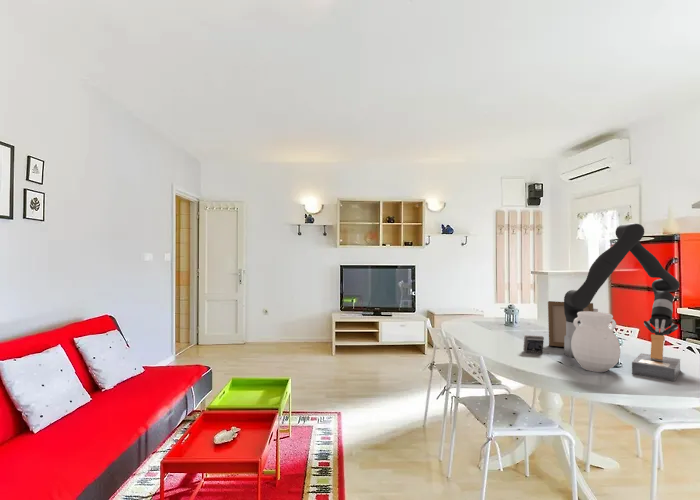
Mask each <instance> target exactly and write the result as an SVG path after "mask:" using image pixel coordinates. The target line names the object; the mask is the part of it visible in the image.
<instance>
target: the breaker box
mask: <svg viewBox="0 0 700 500" xmlns="http://www.w3.org/2000/svg"><path fill="white" fill-rule="evenodd" d="M650 357H651V354H647V353H642V352H640V353H639V354H638V355H637V356H636V358H634V360H633V361H631V374H633V375H638V376H643V377H647V378H654V379H659V380H663V381H664V380H665V381H671V382H676V380H677V378H678V375H679V374H680V371H681V358H676V357H675V358H674V357H667V356H663V361H661V360H655V359H651V358H650Z"/></svg>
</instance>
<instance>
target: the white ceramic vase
mask: <svg viewBox="0 0 700 500" xmlns="http://www.w3.org/2000/svg"><path fill="white" fill-rule="evenodd" d="M577 315H578V317H577V318H575V319H574V321H573V323H574V326H575V327H576V330H575V331H574V333H573V336H572V340H571V349H572V352H573V355H574V357H573V358H574V359H575V360H576V361H577V363H578V365H580V367H581V368H582V369H583V370H585V371H590V372H595V373H605V372H607V371H609V370H611V369H612V368H614V367H615V366H616V365H617V364H618V363H619V361H620V359H621V347H620V342H619V339H618V337H617V336H616V334H615V333H614V330H615V329H616V327H617V322H616V320H615V319H613V318H614V316H613V314H612V313H606V312H601V311H598V312H592V311H581V312H578V313H577ZM578 321H580V322H581V324H580V325H579V326H578V324H577V323H578Z"/></svg>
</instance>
